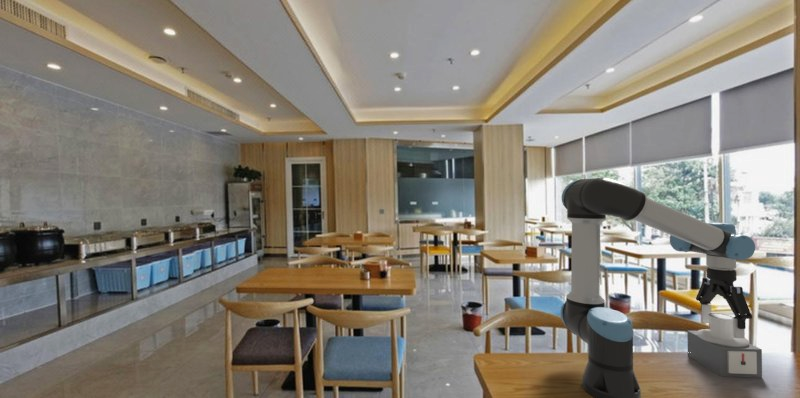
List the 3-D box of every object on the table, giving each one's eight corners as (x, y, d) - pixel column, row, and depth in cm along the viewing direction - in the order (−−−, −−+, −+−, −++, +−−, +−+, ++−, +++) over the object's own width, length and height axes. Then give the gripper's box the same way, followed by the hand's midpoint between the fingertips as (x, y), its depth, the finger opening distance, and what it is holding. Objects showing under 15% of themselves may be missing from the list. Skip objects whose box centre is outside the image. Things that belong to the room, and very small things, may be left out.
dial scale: (721, 377, 111) (721, 346, 111) (686, 354, 127) (685, 327, 127) (766, 379, 110) (766, 347, 110) (725, 356, 126) (724, 328, 125)
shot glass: (712, 338, 117) (711, 317, 117) (705, 331, 123) (705, 311, 123) (739, 341, 114) (738, 320, 114) (731, 334, 120) (731, 314, 120)
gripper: (767, 276, 106) (768, 345, 106) (705, 261, 131) (705, 317, 131) (740, 276, 107) (741, 345, 107) (683, 261, 131) (684, 317, 132)
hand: (721, 330), depth 119 cm, fingers open, 13 cm apart
